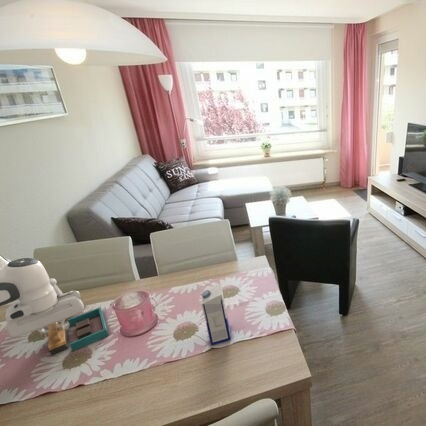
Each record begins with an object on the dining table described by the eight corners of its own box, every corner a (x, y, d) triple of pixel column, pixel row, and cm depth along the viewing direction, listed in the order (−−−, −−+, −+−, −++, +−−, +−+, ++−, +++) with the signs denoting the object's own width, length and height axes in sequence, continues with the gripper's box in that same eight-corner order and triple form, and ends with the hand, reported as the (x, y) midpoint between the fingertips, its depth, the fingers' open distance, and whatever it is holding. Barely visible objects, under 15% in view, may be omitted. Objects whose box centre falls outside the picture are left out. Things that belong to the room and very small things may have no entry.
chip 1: (78, 333, 112) (76, 328, 111) (77, 328, 115) (75, 323, 114) (91, 328, 114) (89, 323, 113) (90, 323, 117) (88, 318, 116)
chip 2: (79, 342, 108) (77, 336, 107) (78, 336, 111) (76, 330, 110) (92, 336, 110) (90, 331, 109) (91, 330, 113) (89, 325, 112)
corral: (72, 351, 104) (69, 344, 103) (70, 325, 116) (67, 319, 115) (108, 335, 110) (106, 329, 109) (102, 312, 123) (100, 306, 122)
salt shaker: (47, 308, 127) (35, 283, 122) (60, 300, 132) (49, 276, 127) (58, 309, 126) (47, 284, 121) (71, 301, 131) (60, 276, 126)
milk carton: (230, 340, 105) (221, 294, 98) (211, 345, 103) (200, 299, 96) (229, 326, 112) (220, 282, 104) (210, 331, 110) (200, 287, 102)
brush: (51, 354, 102) (44, 338, 100) (51, 336, 111) (44, 321, 108) (67, 348, 105) (60, 332, 102) (66, 330, 114) (59, 315, 111)
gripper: (77, 285, 110) (89, 314, 115) (0, 310, 98) (17, 342, 102) (78, 292, 105) (90, 322, 110) (-2, 319, 93) (16, 352, 98)
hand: (54, 332), depth 106 cm, fingers closed on brush, 2 cm apart
